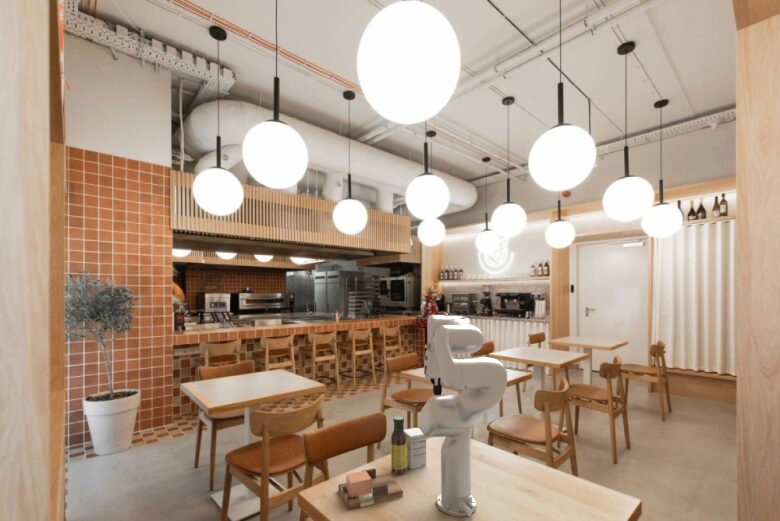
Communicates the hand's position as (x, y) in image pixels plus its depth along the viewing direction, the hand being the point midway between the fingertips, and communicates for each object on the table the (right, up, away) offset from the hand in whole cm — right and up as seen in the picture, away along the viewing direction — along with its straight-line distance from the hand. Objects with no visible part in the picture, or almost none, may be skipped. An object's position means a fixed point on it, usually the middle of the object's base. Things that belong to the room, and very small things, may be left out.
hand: (437, 394), depth 141 cm
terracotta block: (-29, -26, -18) cm, 43 cm away
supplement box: (-9, -30, +5) cm, 31 cm away
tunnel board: (-25, -28, -16) cm, 41 cm away
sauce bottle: (-15, -29, -1) cm, 33 cm away
